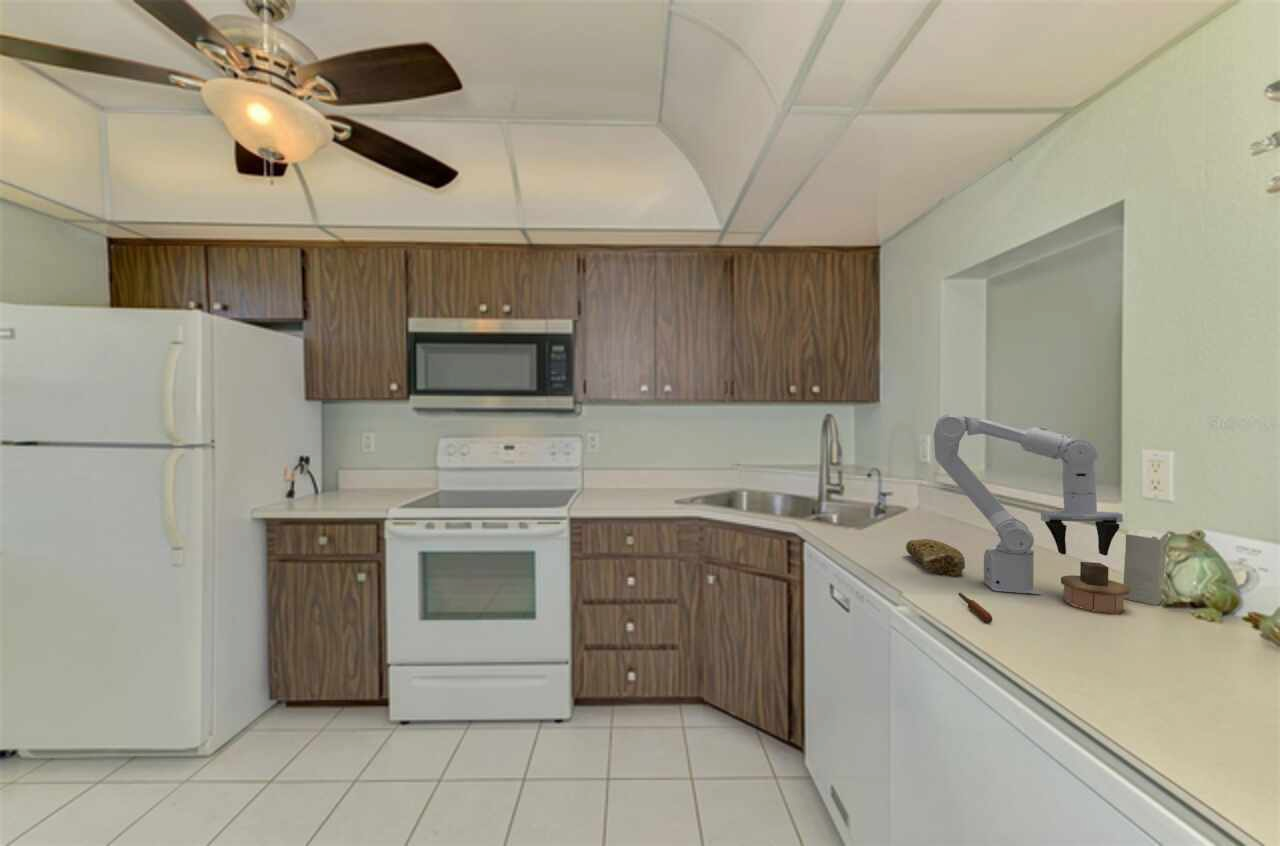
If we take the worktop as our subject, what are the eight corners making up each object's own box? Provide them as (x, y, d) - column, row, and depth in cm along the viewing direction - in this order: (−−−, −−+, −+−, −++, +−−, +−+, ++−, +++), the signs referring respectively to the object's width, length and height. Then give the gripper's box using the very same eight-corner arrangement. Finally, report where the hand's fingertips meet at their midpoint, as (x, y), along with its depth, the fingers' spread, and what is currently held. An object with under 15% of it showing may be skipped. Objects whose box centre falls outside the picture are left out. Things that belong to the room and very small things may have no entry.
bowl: (1078, 610, 114) (1078, 591, 114) (1058, 596, 122) (1058, 578, 122) (1131, 614, 111) (1131, 595, 111) (1107, 600, 120) (1107, 582, 120)
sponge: (971, 583, 136) (957, 549, 154) (965, 554, 135) (953, 523, 153) (913, 586, 142) (907, 553, 160) (907, 558, 141) (902, 528, 159)
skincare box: (1130, 591, 126) (1131, 527, 126) (1166, 598, 121) (1167, 531, 121) (1122, 599, 120) (1123, 532, 120) (1159, 607, 116) (1161, 537, 116)
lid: (1075, 592, 113) (1075, 569, 113) (1051, 577, 123) (1052, 556, 123) (1141, 597, 109) (1141, 573, 109) (1111, 581, 120) (1111, 559, 120)
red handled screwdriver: (993, 625, 106) (993, 614, 106) (985, 624, 106) (985, 614, 106) (961, 598, 121) (961, 589, 121) (954, 598, 121) (954, 589, 121)
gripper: (1048, 495, 120) (1051, 557, 120) (1129, 495, 116) (1132, 559, 115) (1036, 491, 127) (1038, 549, 127) (1111, 491, 122) (1115, 551, 122)
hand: (1082, 553), depth 122 cm, fingers open, 7 cm apart
